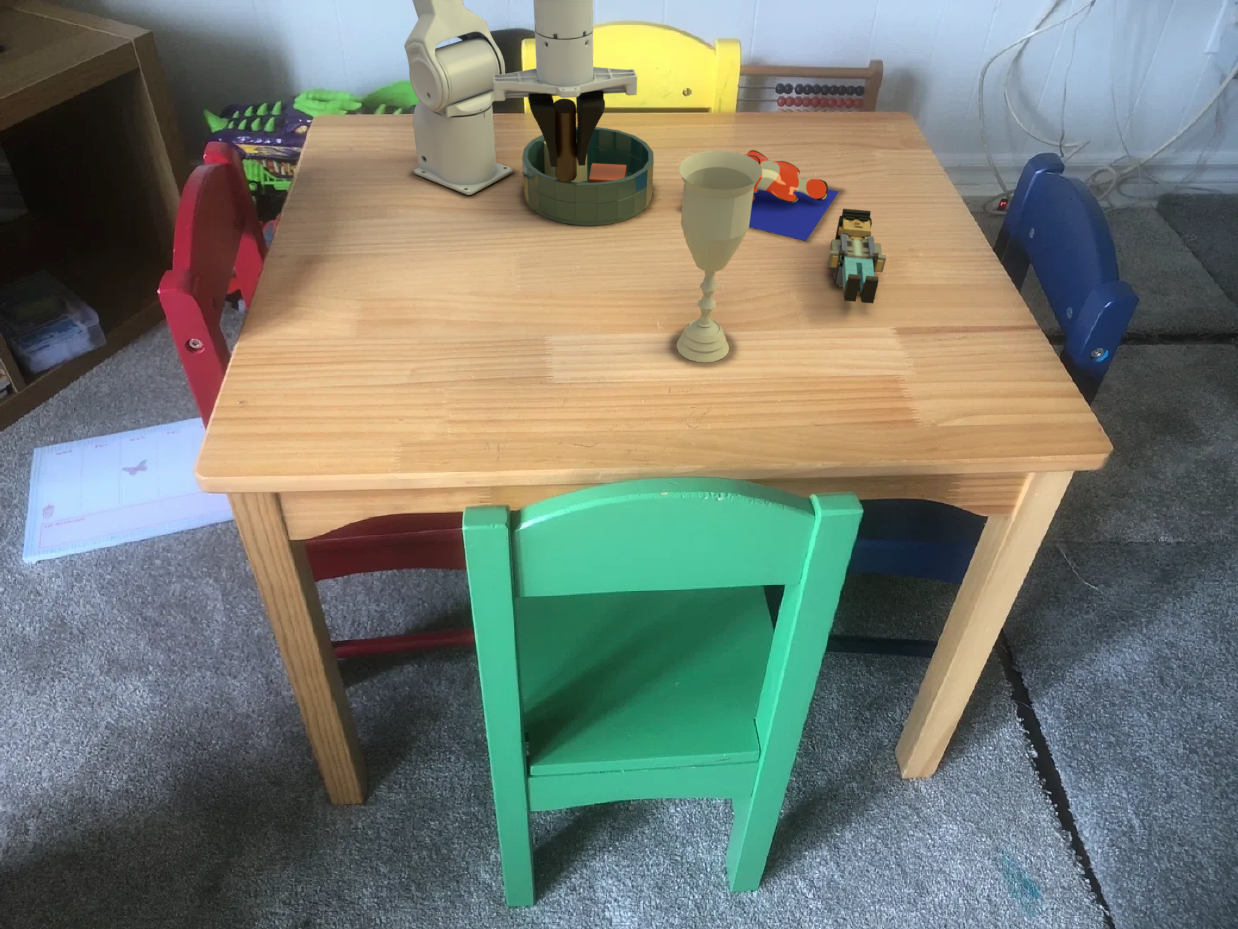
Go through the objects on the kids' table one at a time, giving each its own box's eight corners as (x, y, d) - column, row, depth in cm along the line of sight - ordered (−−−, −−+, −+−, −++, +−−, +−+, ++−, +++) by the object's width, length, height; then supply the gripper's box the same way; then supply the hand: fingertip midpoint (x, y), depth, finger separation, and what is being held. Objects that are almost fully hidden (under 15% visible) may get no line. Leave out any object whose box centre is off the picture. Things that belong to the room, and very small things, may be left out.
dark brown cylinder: (555, 182, 101) (553, 113, 94) (555, 167, 102) (552, 98, 95) (577, 181, 101) (576, 112, 94) (576, 167, 103) (575, 97, 95)
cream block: (544, 172, 113) (543, 141, 110) (574, 167, 114) (574, 135, 111) (556, 186, 110) (555, 154, 107) (587, 180, 111) (587, 149, 109)
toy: (834, 277, 89) (830, 203, 100) (826, 316, 92) (823, 240, 103) (893, 282, 89) (883, 208, 99) (883, 321, 92) (874, 245, 102)
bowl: (498, 198, 109) (495, 158, 105) (577, 154, 118) (577, 116, 114) (600, 239, 102) (600, 198, 99) (676, 189, 111) (678, 149, 108)
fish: (708, 160, 105) (734, 132, 111) (704, 198, 108) (730, 169, 114) (816, 185, 101) (838, 155, 107) (809, 224, 104) (830, 193, 110)
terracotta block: (592, 194, 109) (592, 162, 106) (625, 196, 109) (626, 164, 106) (588, 211, 106) (588, 178, 103) (623, 213, 106) (624, 180, 103)
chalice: (716, 378, 85) (737, 198, 72) (652, 353, 87) (662, 175, 75) (751, 339, 89) (776, 163, 77) (690, 316, 92) (705, 143, 79)
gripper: (491, 46, 85) (501, 182, 95) (644, 41, 87) (639, 175, 97) (487, 21, 91) (497, 153, 100) (632, 16, 92) (628, 146, 102)
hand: (566, 162), depth 99 cm, fingers closed on dark brown cylinder, 2 cm apart
